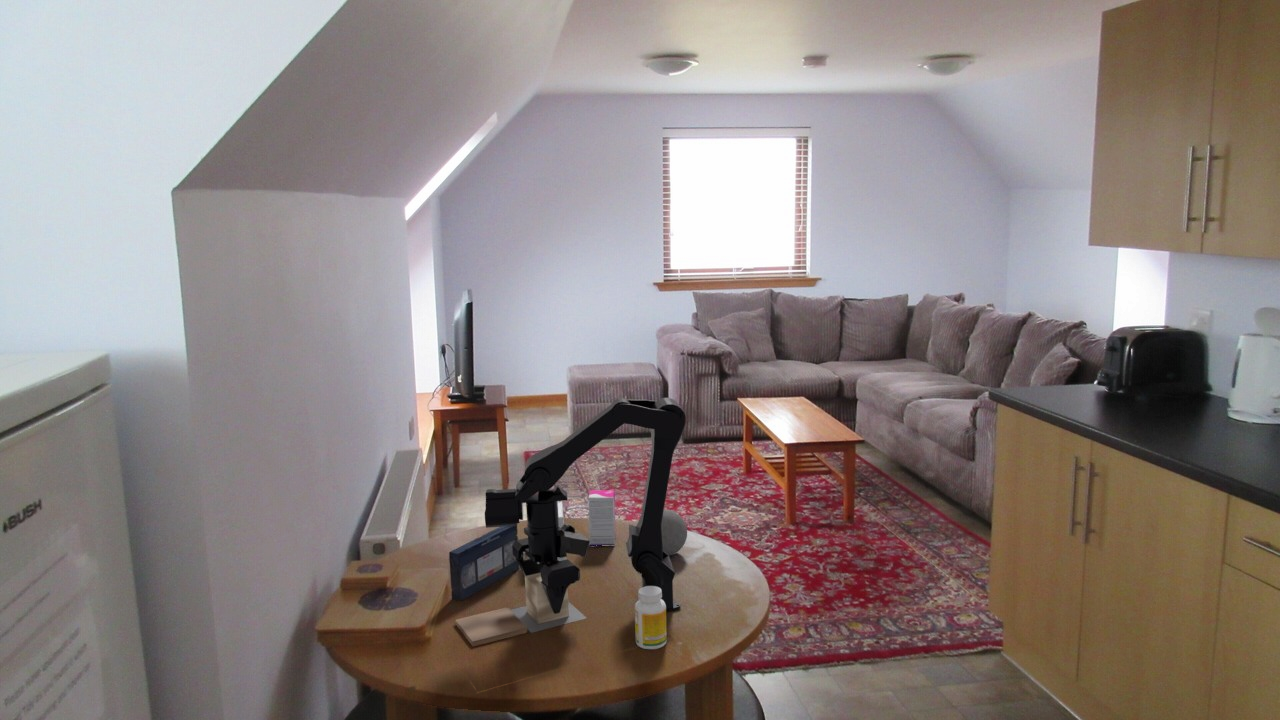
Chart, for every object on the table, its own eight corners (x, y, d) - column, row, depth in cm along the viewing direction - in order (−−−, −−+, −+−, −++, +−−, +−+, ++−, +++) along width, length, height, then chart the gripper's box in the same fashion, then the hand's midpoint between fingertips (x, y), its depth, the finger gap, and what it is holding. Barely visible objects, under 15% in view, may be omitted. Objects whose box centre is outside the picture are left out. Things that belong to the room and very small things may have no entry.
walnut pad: (527, 632, 162) (526, 627, 162) (472, 646, 157) (472, 641, 157) (507, 612, 171) (507, 607, 170) (455, 624, 166) (455, 619, 166)
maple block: (568, 616, 168) (567, 580, 167) (538, 623, 165) (536, 587, 164) (556, 604, 173) (554, 569, 172) (526, 611, 170) (524, 576, 169)
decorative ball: (697, 554, 196) (696, 509, 194) (663, 567, 189) (661, 521, 188) (665, 542, 203) (664, 499, 202) (632, 554, 197) (630, 510, 195)
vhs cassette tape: (460, 602, 176) (457, 553, 174) (449, 599, 177) (446, 551, 176) (521, 569, 191) (519, 524, 189) (510, 567, 193) (508, 522, 191)
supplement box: (615, 546, 202) (613, 497, 200) (588, 547, 202) (586, 497, 200) (616, 537, 208) (614, 489, 206) (590, 538, 208) (588, 489, 206)
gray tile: (586, 618, 167) (586, 618, 167) (530, 633, 162) (530, 632, 162) (563, 597, 176) (563, 596, 176) (509, 610, 171) (509, 609, 171)
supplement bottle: (629, 643, 156) (627, 591, 155) (650, 632, 160) (648, 581, 159) (652, 653, 153) (650, 599, 151) (673, 641, 157) (671, 589, 155)
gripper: (605, 529, 162) (608, 612, 164) (563, 502, 178) (566, 577, 180) (546, 542, 156) (551, 627, 159) (509, 512, 173) (513, 590, 175)
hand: (547, 603), depth 169 cm, fingers open, 9 cm apart
